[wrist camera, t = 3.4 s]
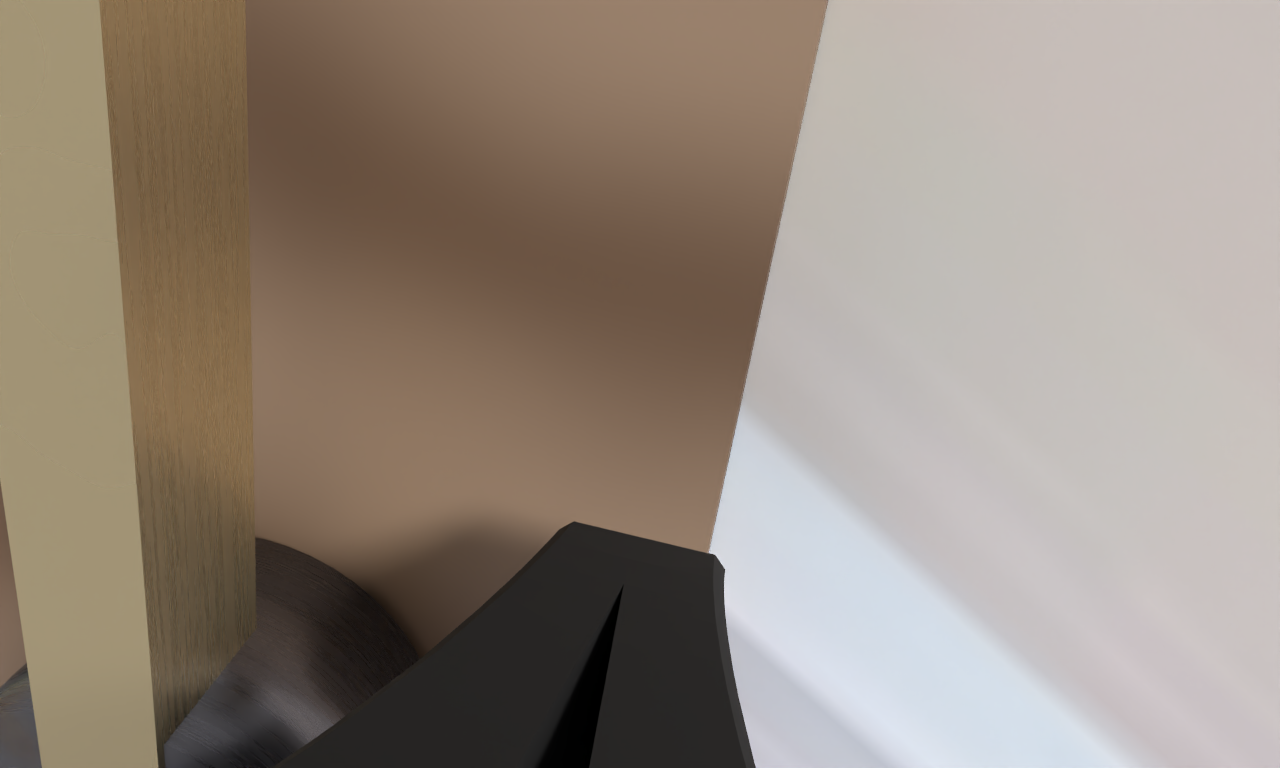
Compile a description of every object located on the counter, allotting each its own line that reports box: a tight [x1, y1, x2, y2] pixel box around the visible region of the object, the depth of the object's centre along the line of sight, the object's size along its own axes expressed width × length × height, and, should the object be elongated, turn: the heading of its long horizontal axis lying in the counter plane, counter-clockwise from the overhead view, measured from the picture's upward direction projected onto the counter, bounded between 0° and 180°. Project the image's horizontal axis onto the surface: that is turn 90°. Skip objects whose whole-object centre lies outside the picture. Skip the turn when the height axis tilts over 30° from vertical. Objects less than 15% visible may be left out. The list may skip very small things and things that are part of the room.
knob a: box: [0, 0, 419, 768], centre depth 11 cm, size 11×4×3 cm, turn 171°
